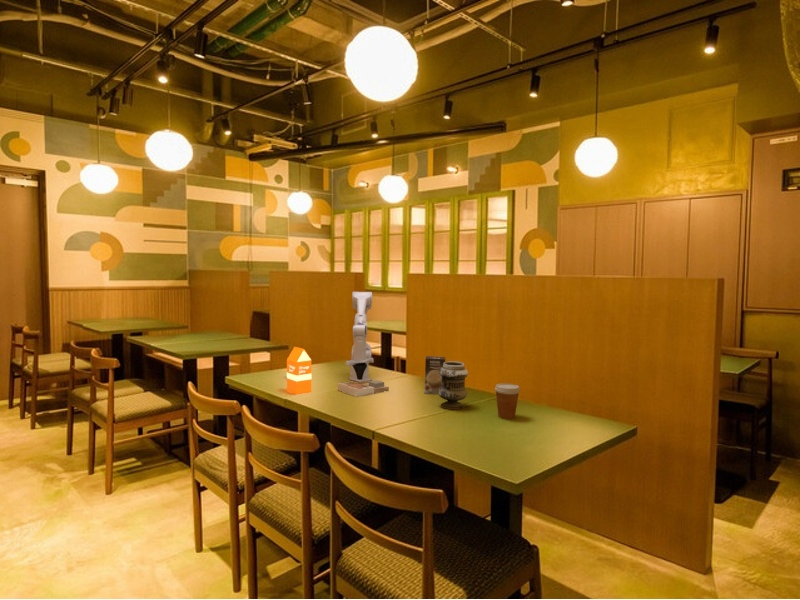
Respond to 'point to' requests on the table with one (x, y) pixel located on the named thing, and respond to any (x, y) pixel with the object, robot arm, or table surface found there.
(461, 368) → the apothecary jar
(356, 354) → the robot arm
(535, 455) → the table surface
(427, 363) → the coffee box
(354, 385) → the tile terracotta
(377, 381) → the tile slate
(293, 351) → the orange juice
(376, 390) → the board
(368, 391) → the tray
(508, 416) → the disposable coffee cup
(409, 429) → the table surface
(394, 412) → the table surface
